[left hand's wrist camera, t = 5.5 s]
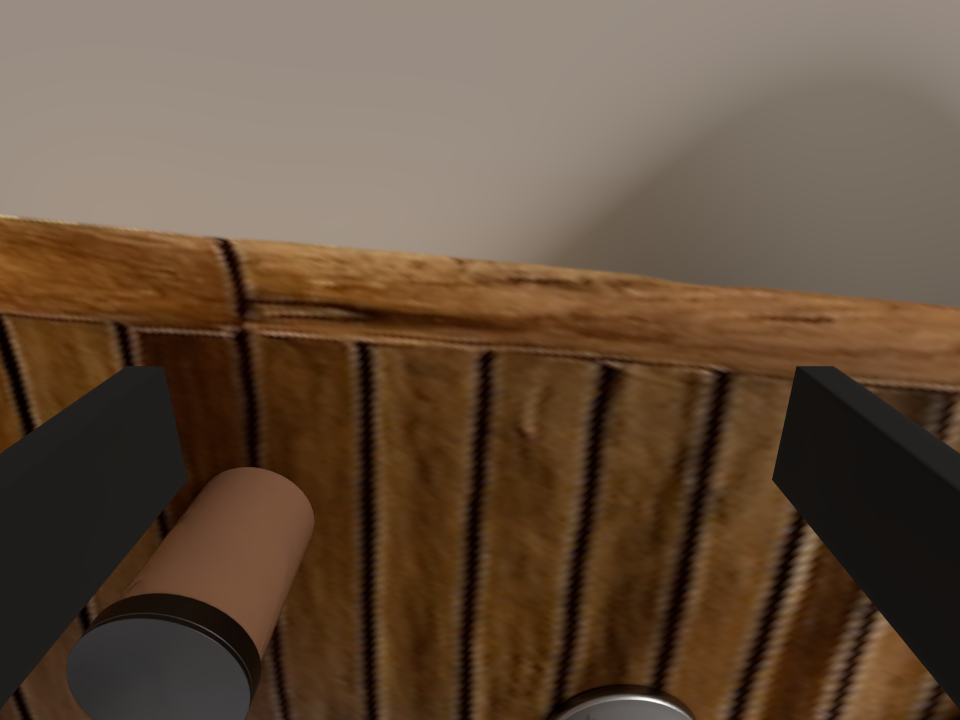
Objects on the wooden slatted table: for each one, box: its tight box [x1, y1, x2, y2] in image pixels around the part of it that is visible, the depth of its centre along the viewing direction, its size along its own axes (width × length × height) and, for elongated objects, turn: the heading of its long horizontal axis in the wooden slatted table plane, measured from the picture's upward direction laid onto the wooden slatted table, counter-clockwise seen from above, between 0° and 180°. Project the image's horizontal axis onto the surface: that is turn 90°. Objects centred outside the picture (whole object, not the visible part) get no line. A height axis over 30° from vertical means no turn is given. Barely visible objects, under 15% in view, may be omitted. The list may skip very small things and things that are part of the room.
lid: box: [66, 593, 261, 720], centre depth 34 cm, size 10×10×2 cm
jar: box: [117, 467, 315, 661], centre depth 40 cm, size 9×9×15 cm
